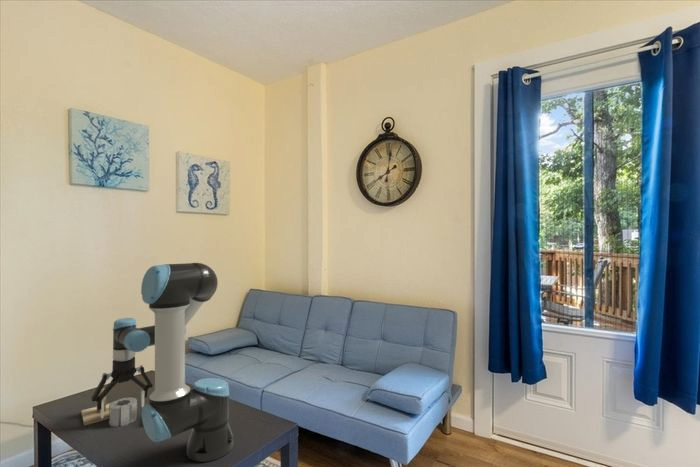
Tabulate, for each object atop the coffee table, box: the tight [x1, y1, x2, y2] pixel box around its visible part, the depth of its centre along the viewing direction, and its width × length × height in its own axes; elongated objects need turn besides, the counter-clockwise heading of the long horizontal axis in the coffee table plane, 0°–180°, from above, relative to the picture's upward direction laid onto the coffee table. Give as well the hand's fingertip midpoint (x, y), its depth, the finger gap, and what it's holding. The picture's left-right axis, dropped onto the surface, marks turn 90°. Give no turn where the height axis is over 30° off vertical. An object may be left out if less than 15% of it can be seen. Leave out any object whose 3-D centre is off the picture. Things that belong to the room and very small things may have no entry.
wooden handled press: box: [80, 387, 112, 427], centre depth 143 cm, size 12×12×10 cm
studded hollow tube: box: [108, 396, 138, 428], centre depth 138 cm, size 9×9×7 cm
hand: (122, 411), depth 139 cm, fingers open, 13 cm apart
